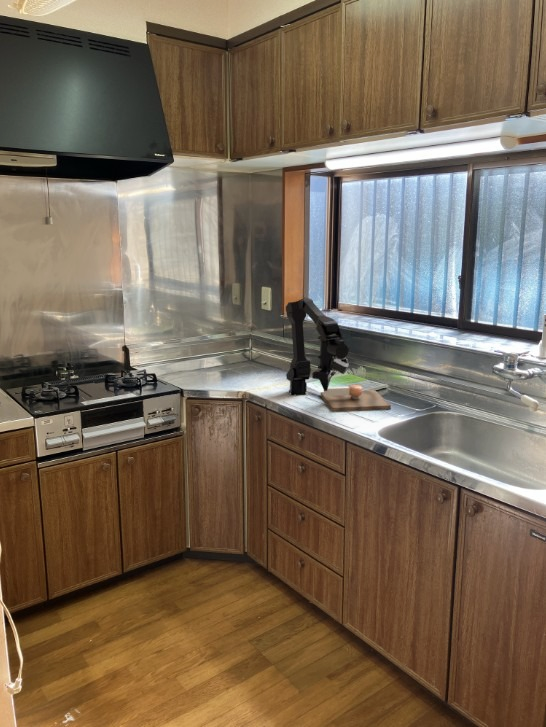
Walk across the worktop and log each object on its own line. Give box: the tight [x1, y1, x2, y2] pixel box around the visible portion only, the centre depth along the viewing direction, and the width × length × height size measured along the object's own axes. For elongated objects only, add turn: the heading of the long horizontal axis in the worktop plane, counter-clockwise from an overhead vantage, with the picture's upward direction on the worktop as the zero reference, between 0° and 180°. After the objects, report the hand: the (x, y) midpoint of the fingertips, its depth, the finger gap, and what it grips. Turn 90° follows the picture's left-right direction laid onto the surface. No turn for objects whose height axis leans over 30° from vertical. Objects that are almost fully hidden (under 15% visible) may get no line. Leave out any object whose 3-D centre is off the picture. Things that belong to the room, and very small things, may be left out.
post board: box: [320, 389, 392, 412], centre depth 247 cm, size 24×20×3 cm
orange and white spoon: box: [323, 384, 363, 396], centre depth 245 cm, size 16×6×3 cm, turn 99°
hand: (325, 390), depth 237 cm, fingers closed
